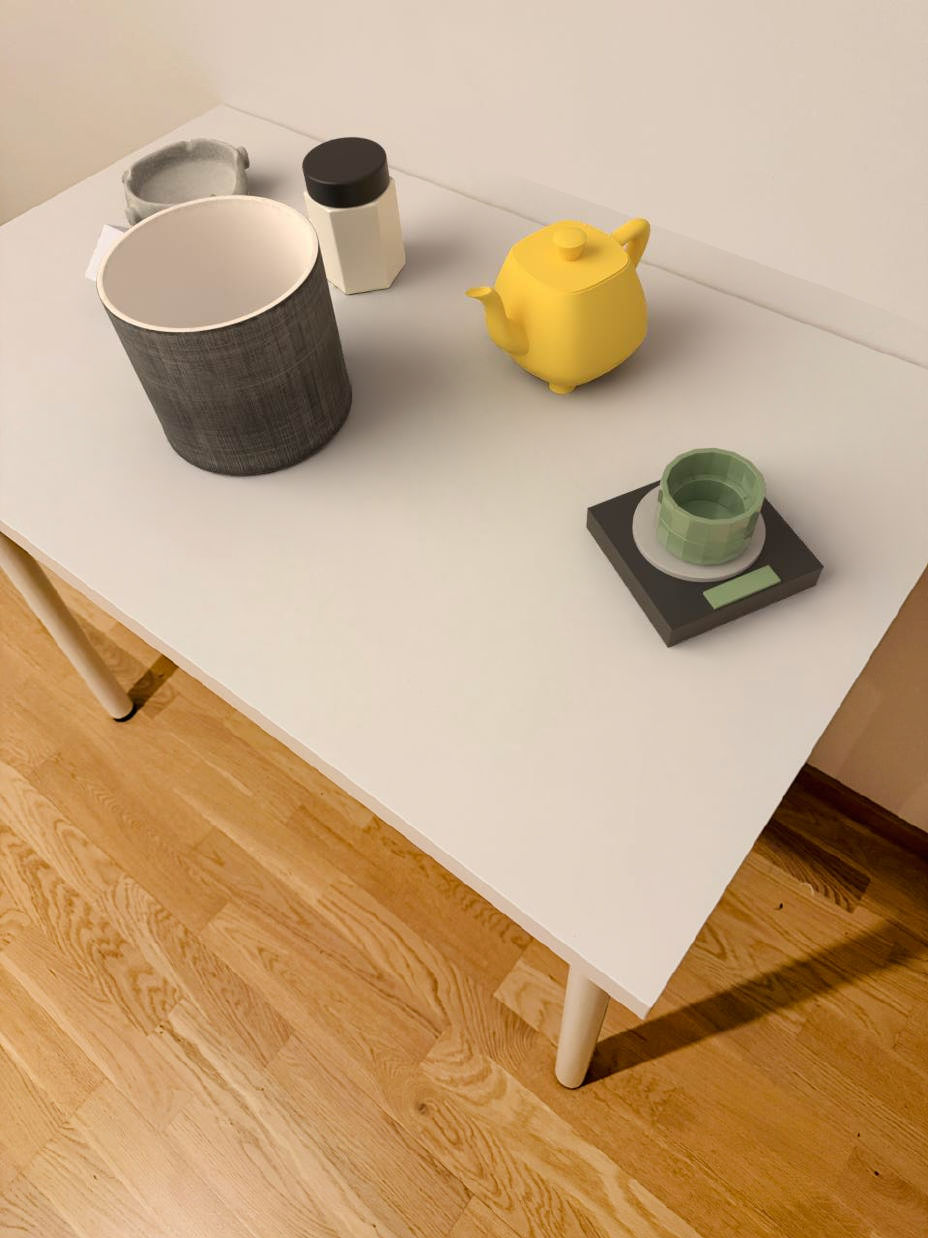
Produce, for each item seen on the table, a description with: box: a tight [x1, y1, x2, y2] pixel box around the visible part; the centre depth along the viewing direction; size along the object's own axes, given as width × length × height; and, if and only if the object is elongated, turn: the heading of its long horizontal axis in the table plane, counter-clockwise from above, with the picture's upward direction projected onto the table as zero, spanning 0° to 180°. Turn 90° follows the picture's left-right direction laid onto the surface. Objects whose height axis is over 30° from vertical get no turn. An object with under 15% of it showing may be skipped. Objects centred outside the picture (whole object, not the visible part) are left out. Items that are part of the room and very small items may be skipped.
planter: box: [95, 195, 353, 476], centre depth 78 cm, size 18×18×16 cm
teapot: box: [464, 217, 651, 395], centre depth 81 cm, size 13×20×12 cm
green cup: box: [654, 447, 767, 565], centre depth 67 cm, size 7×7×5 cm
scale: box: [585, 479, 825, 648], centre depth 71 cm, size 13×13×3 cm
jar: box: [301, 136, 407, 295], centre depth 91 cm, size 9×8×12 cm
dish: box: [121, 137, 251, 228], centre depth 102 cm, size 14×14×5 cm
